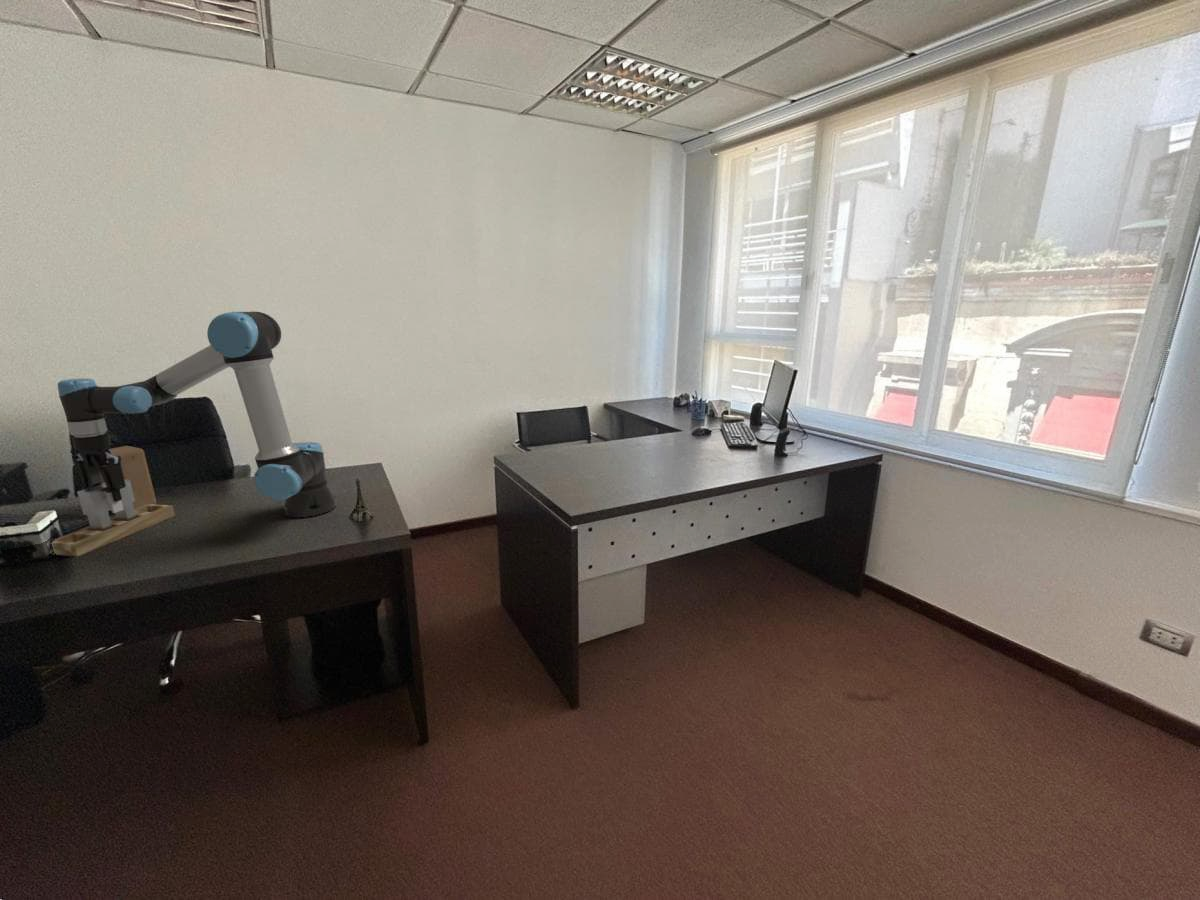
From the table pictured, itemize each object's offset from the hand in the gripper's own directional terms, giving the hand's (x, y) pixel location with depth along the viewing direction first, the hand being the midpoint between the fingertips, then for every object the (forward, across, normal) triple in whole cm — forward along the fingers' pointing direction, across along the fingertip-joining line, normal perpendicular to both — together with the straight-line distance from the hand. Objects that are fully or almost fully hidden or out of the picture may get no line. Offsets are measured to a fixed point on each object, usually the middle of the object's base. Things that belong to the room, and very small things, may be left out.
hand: (111, 510), depth 148 cm
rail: (+7, 0, 0) cm, 7 cm away
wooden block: (+8, +16, -18) cm, 25 cm away
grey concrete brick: (+4, 0, 0) cm, 4 cm away
